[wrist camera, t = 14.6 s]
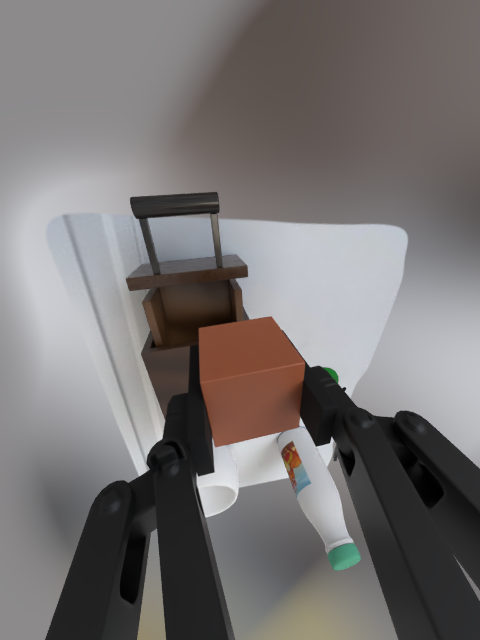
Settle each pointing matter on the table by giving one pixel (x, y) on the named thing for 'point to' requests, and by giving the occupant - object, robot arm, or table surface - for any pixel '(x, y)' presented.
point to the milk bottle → (317, 495)
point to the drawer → (186, 275)
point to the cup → (219, 483)
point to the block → (249, 380)
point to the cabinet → (169, 368)
